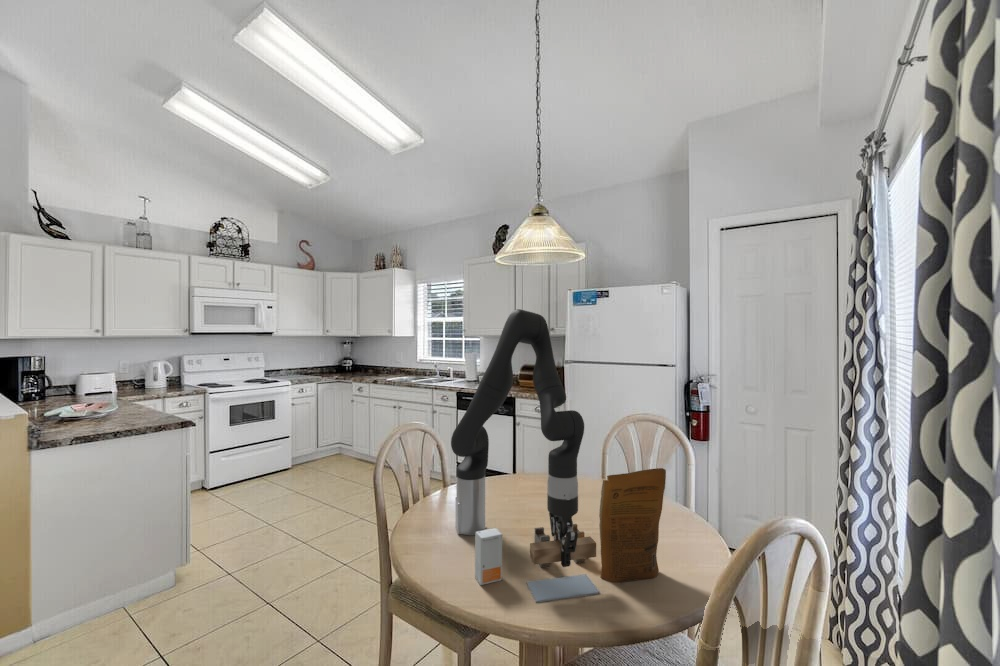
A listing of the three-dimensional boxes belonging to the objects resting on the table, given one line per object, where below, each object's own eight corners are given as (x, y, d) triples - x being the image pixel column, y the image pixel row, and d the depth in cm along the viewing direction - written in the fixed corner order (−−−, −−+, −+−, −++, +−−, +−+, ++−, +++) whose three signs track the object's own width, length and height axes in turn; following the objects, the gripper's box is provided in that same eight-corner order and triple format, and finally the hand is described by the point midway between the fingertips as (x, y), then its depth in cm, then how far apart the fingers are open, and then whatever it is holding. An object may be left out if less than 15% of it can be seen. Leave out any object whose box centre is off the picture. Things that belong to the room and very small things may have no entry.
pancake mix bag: (673, 580, 112) (673, 470, 112) (602, 588, 109) (603, 475, 108) (658, 566, 119) (659, 462, 119) (592, 574, 115) (592, 467, 115)
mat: (536, 602, 103) (536, 600, 103) (526, 583, 111) (526, 581, 111) (599, 593, 107) (599, 591, 107) (586, 575, 114) (586, 574, 114)
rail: (534, 564, 105) (534, 550, 105) (530, 557, 109) (530, 543, 109) (596, 556, 109) (596, 542, 109) (590, 550, 112) (590, 536, 112)
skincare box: (480, 586, 110) (480, 538, 109) (474, 577, 113) (474, 531, 113) (502, 580, 112) (502, 533, 112) (496, 572, 116) (496, 527, 116)
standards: (541, 568, 118) (541, 537, 118) (534, 556, 124) (534, 527, 124) (584, 562, 121) (584, 532, 121) (576, 551, 127) (576, 523, 126)
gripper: (539, 483, 115) (539, 549, 115) (558, 504, 101) (558, 579, 101) (566, 481, 116) (566, 546, 116) (588, 501, 103) (588, 575, 103)
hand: (562, 561), depth 109 cm, fingers closed on rail, 3 cm apart
